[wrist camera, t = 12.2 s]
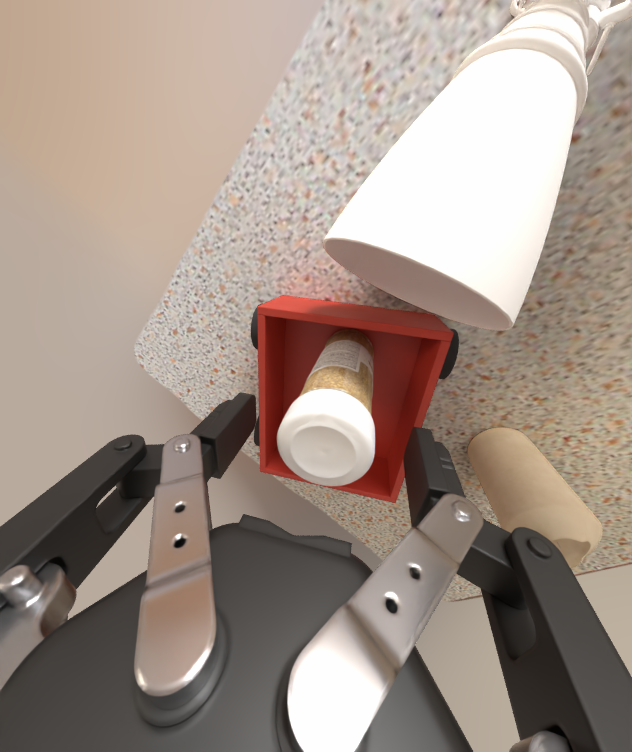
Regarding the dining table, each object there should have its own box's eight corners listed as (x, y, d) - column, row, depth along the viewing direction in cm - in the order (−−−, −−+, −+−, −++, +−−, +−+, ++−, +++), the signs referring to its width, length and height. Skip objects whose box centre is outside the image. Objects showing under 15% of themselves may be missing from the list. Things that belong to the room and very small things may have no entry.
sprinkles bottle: (370, 376, 24) (368, 498, 12) (323, 371, 24) (275, 480, 13) (377, 328, 22) (382, 418, 10) (325, 324, 22) (271, 403, 11)
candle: (527, 470, 25) (611, 585, 16) (466, 470, 27) (512, 577, 18) (533, 424, 23) (633, 529, 14) (466, 428, 25) (519, 525, 16)
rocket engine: (1457, -1480, 3) (456, 253, 7) (835, -58, 10) (535, 349, 15) (452, -188, 11) (289, 231, 16) (517, 65, 18) (392, 299, 23)
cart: (282, 295, 23) (256, 306, 18) (435, 314, 21) (454, 333, 16) (278, 435, 30) (259, 471, 25) (391, 459, 28) (395, 503, 23)
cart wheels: (268, 300, 23) (249, 308, 20) (449, 323, 21) (464, 337, 17) (268, 429, 30) (254, 453, 26) (404, 458, 28) (409, 488, 24)
